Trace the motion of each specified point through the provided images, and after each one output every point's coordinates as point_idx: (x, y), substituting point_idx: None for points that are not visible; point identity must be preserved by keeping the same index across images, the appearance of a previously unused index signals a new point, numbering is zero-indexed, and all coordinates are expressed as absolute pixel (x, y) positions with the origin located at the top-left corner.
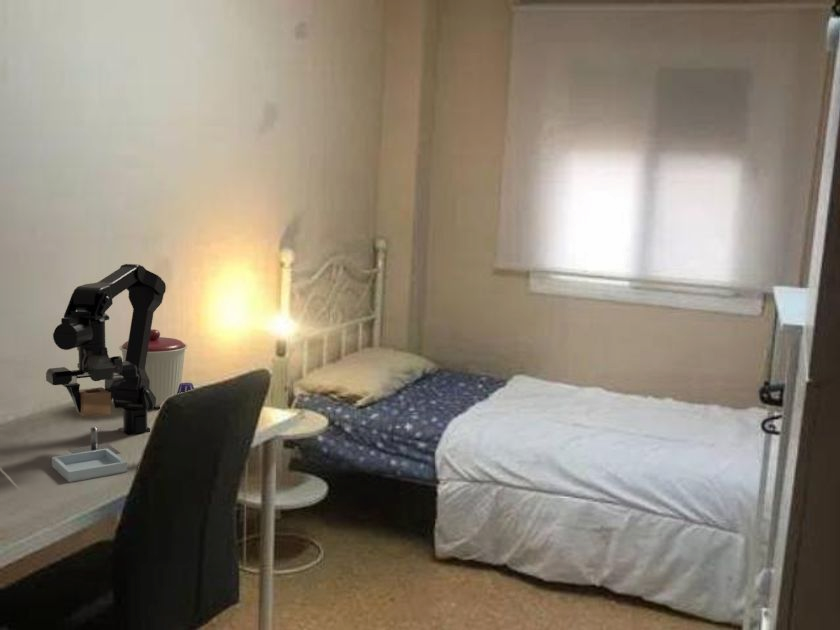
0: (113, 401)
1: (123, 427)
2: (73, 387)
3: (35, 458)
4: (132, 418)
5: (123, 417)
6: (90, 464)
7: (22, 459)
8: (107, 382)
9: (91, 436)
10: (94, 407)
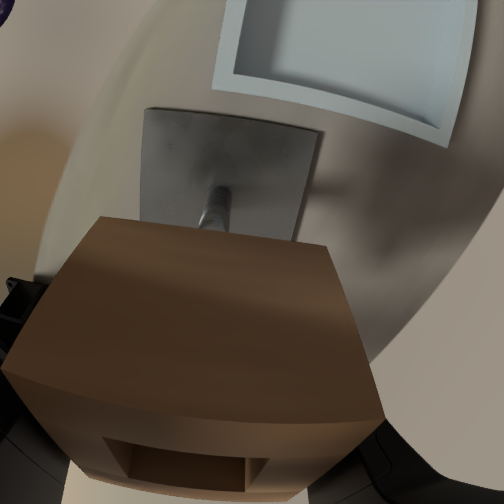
0: None
1: None
2: (481, 499)
3: (391, 263)
4: None
5: None
6: (329, 38)
7: (414, 275)
8: (35, 495)
9: (229, 227)
10: (237, 284)
